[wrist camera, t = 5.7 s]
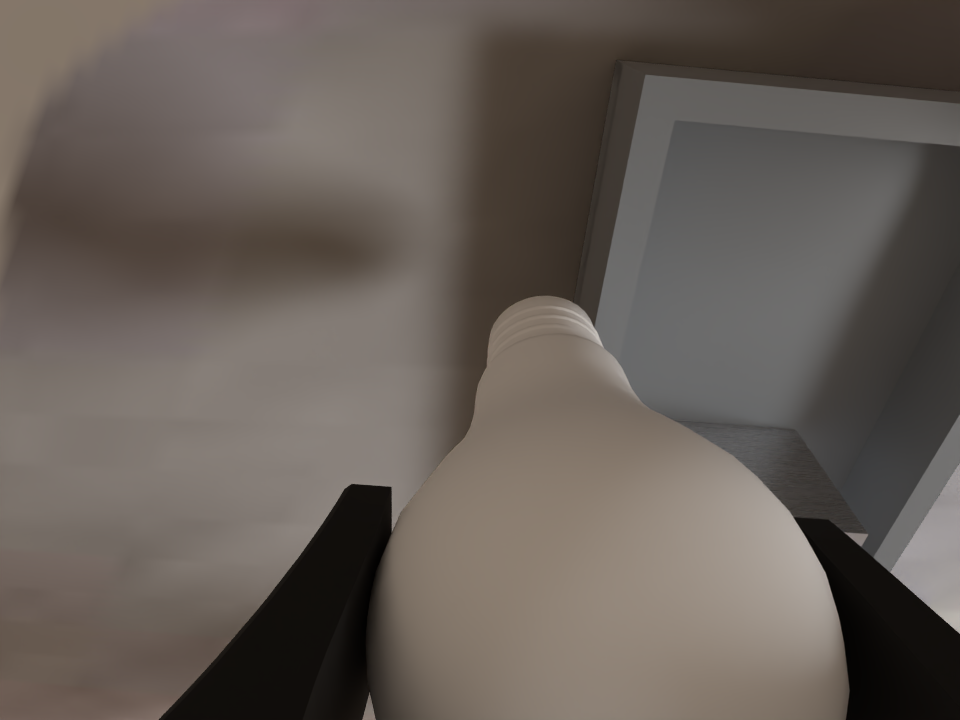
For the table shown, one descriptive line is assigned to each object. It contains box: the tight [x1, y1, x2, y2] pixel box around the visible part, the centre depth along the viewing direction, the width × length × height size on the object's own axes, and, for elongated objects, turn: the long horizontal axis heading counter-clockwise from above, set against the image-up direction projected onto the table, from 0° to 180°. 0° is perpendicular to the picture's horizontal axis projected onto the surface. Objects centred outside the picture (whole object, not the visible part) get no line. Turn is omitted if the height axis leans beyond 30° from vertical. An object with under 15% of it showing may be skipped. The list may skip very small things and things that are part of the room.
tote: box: [573, 60, 960, 572], centre depth 18 cm, size 16×11×4 cm
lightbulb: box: [365, 296, 850, 720], centre depth 10 cm, size 6×6×11 cm
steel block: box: [671, 419, 868, 546], centre depth 19 cm, size 4×4×4 cm
